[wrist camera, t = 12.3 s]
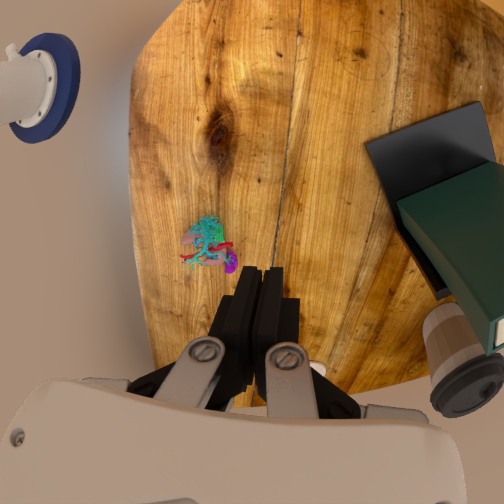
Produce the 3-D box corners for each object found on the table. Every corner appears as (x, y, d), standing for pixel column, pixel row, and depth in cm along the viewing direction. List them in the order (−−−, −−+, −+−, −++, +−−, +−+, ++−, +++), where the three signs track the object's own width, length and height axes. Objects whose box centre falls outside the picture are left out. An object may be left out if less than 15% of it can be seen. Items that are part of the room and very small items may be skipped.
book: (489, 322, 10) (486, 356, 11) (615, 229, 5) (610, 264, 6) (396, 201, 28) (403, 225, 29) (491, 160, 23) (495, 184, 24)
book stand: (363, 143, 27) (405, 171, 16) (476, 100, 21) (551, 113, 10) (396, 232, 31) (436, 301, 20) (497, 187, 25) (560, 232, 14)
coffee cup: (474, 326, 36) (506, 396, 23) (416, 355, 40) (436, 431, 27) (468, 277, 32) (516, 353, 19) (402, 311, 36) (429, 398, 23)
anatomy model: (187, 295, 34) (235, 287, 31) (155, 238, 31) (203, 222, 28) (204, 271, 38) (249, 262, 36) (176, 218, 35) (222, 203, 32)
